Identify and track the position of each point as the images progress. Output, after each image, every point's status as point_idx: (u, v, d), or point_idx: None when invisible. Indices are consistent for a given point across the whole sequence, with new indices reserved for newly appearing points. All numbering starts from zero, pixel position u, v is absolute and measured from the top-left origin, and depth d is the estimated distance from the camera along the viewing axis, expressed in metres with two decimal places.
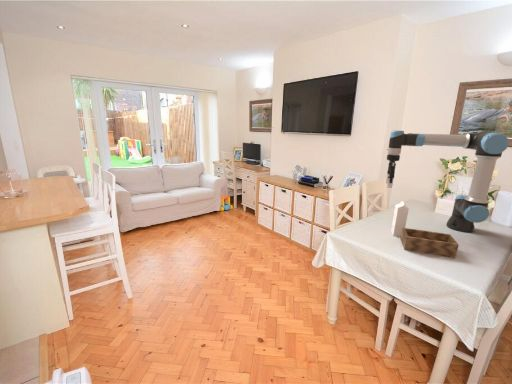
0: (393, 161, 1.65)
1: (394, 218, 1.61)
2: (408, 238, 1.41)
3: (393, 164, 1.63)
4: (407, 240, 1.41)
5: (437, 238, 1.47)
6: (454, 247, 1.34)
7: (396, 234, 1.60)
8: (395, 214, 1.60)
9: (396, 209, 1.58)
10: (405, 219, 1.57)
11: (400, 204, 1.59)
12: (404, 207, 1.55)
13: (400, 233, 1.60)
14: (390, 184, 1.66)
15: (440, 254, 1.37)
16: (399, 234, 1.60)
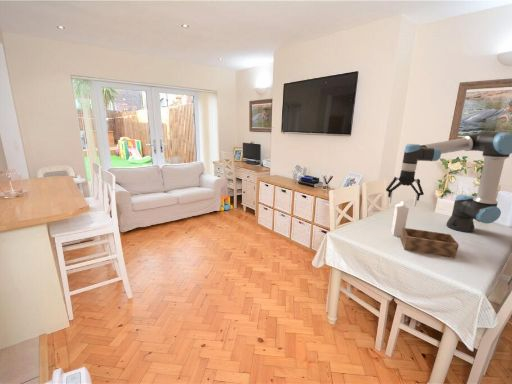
0: (400, 176, 1.55)
1: (394, 218, 1.61)
2: (408, 238, 1.41)
3: None
4: (407, 240, 1.41)
5: (437, 238, 1.47)
6: (454, 247, 1.34)
7: (396, 234, 1.60)
8: (395, 214, 1.60)
9: (396, 209, 1.58)
10: (405, 219, 1.57)
11: (400, 204, 1.59)
12: (404, 207, 1.55)
13: (400, 233, 1.60)
14: None
15: (440, 254, 1.37)
16: (399, 234, 1.60)
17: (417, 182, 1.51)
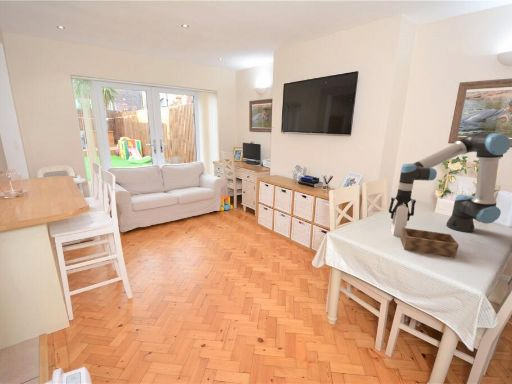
0: None
1: None
2: (408, 238, 1.41)
3: (391, 199, 1.60)
4: (407, 240, 1.41)
5: (437, 238, 1.47)
6: (454, 247, 1.34)
7: (396, 234, 1.60)
8: (395, 214, 1.60)
9: None
10: (405, 219, 1.57)
11: (400, 204, 1.59)
12: (404, 207, 1.55)
13: (400, 233, 1.60)
14: (392, 220, 1.62)
15: (440, 254, 1.37)
16: (399, 234, 1.60)
17: (412, 202, 1.55)
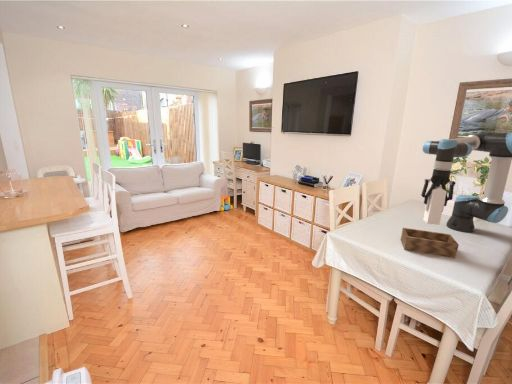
0: None
1: None
2: (408, 238, 1.41)
3: (425, 181, 1.38)
4: (407, 240, 1.41)
5: (437, 238, 1.47)
6: (454, 247, 1.34)
7: (431, 222, 1.38)
8: (430, 198, 1.38)
9: (432, 192, 1.36)
10: (442, 204, 1.35)
11: (436, 187, 1.37)
12: (441, 190, 1.33)
13: (435, 220, 1.38)
14: (426, 205, 1.40)
15: (440, 254, 1.37)
16: (434, 222, 1.38)
17: (451, 184, 1.33)
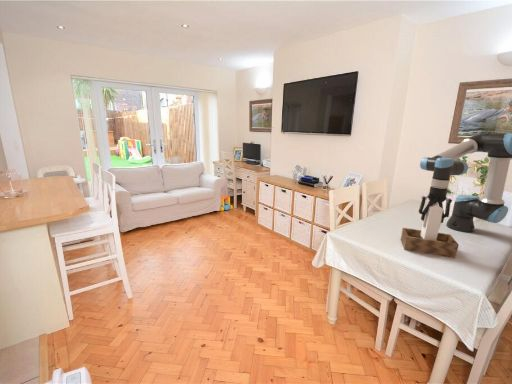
0: None
1: None
2: (408, 238, 1.41)
3: (422, 198, 1.40)
4: (407, 240, 1.41)
5: (437, 238, 1.47)
6: (454, 247, 1.34)
7: (428, 238, 1.41)
8: (427, 215, 1.40)
9: (429, 209, 1.39)
10: (439, 221, 1.37)
11: (433, 204, 1.39)
12: (438, 207, 1.36)
13: (432, 237, 1.40)
14: (423, 222, 1.42)
15: (440, 254, 1.37)
16: (431, 238, 1.40)
17: (448, 202, 1.35)
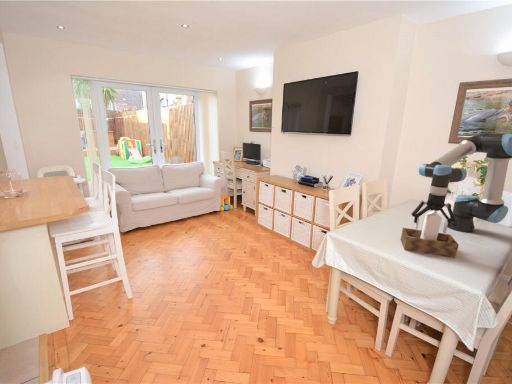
0: (428, 200, 1.39)
1: (424, 228, 1.43)
2: (408, 238, 1.41)
3: (420, 202, 1.41)
4: (407, 240, 1.41)
5: (437, 238, 1.47)
6: (454, 247, 1.34)
7: None
8: (425, 224, 1.42)
9: (427, 218, 1.40)
10: (437, 230, 1.39)
11: (432, 212, 1.40)
12: (437, 216, 1.37)
13: None
14: (416, 224, 1.44)
15: (440, 254, 1.37)
16: None
17: (448, 207, 1.35)
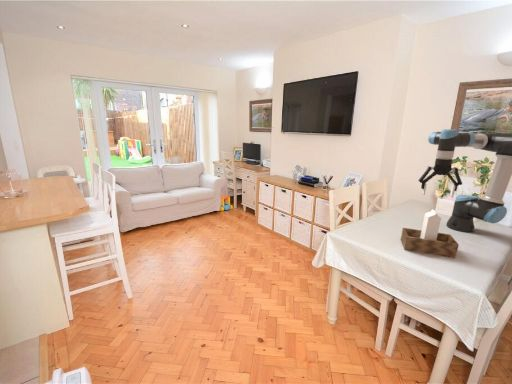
0: None
1: (423, 228, 1.43)
2: (408, 238, 1.41)
3: (427, 168, 1.43)
4: (407, 240, 1.41)
5: (437, 238, 1.47)
6: (454, 247, 1.34)
7: None
8: (425, 224, 1.42)
9: (427, 218, 1.40)
10: (437, 230, 1.39)
11: (431, 213, 1.40)
12: (436, 216, 1.37)
13: None
14: (423, 190, 1.46)
15: (440, 254, 1.37)
16: None
17: (455, 171, 1.38)
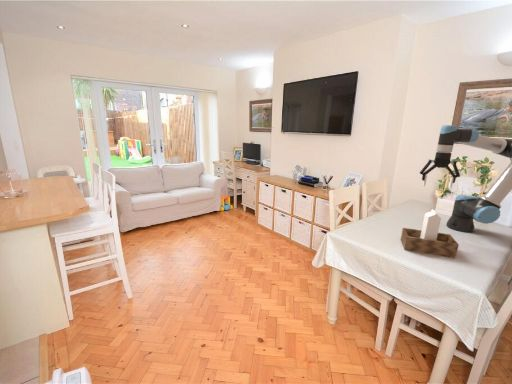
0: (435, 158, 1.53)
1: (423, 228, 1.43)
2: (408, 238, 1.41)
3: (428, 161, 1.54)
4: (407, 240, 1.41)
5: (437, 238, 1.47)
6: (454, 247, 1.34)
7: None
8: (425, 224, 1.42)
9: (427, 218, 1.40)
10: (437, 230, 1.39)
11: (431, 213, 1.40)
12: (436, 216, 1.37)
13: None
14: (423, 182, 1.58)
15: (440, 254, 1.37)
16: None
17: (453, 164, 1.49)
